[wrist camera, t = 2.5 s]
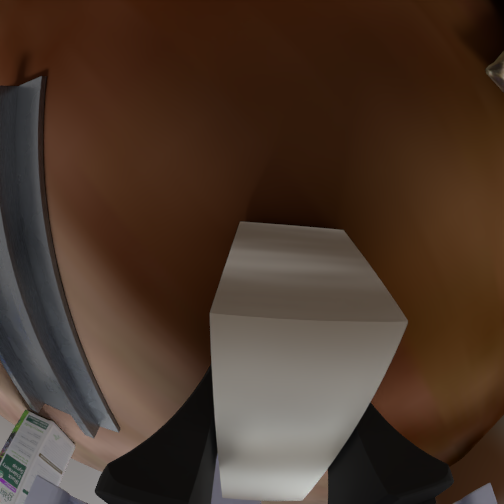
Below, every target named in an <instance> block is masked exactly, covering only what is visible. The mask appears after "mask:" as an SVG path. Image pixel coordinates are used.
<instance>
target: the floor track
mask: <svg viewBox="0 0 504 504" xmlns="http://www.w3.org/2000/svg"><path fill="white" fill-rule="evenodd" d="M46 79H47V77H45V76H41V77H38V78H36V79H34V80H31V81H29V82H27V83H24V84H22V85H20V86H0V360H1V362H2V364H3V366H4V368H5V369H6V371H7V373H8V374H9V376H10V378H11V379H12V381H13V383H14V384H15V386H16V387H17V389H18V390H19V392H20V393H21V395H22V396H23V398H24V399H25V401H26V402H27V404H28V405H29V406H30V408H31V409H32V410H33V411H35V412H37V413H39V411H40V410H41V408H42V407H43V405H44V403H45V404H47V405H50V406H52V407H54V408H56V409H58V410H60V411H63V412H65V413H67V414H70V415H71V416H72V417H73V419H74V420H75V422H76V423H77V424H78V426H79V427H80V429H81V430H82V431H83V433H84V434H85V435H87V436H89V437H92V438H94V437H95V435H96V433H97V431H98V429H99V427H100V426H101V427H104V428H107V429H110V430H113V431H116V432H119V431H120V428H119V426H118V424H117V422H116V421H115V419H114V417H113V415H112V413H111V411H110V409H109V407H108V405H107V403H106V401H105V399H104V397H103V395H102V393H101V391H100V389H99V387H98V385H97V383H96V380H95V378H94V376H93V374H92V371H91V369H90V367H89V364H88V362H87V359H86V357H85V354H84V352H83V349H82V346H81V344H80V341H79V338H78V335H77V333H76V330H75V327H74V324H73V321H72V318H71V315H70V311H69V308H68V305H67V301H66V298H65V294H64V291H63V287H62V283H61V279H60V275H59V271H58V267H57V262H56V257H55V253H54V247H53V242H52V237H51V231H50V224H49V217H48V210H47V201H46V192H45V180H44V162H43V117H44V100H45V89H46Z"/></svg>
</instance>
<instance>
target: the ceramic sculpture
mask: <svg viewBox="0 0 504 504" xmlns="http://www.w3.org/2000/svg"><path fill="white" fill-rule="evenodd" d="M485 71H486V74H487V75H488V76H489V77H490V78H491V79H492V80H493V81H494V83H495V84H496V85H497V86H498V87H499V88H500V89H501V90H502V91H503V92H504V51H503V52H502V53H501V54H500V56H499V57H498V58H497V59H496V60H495V62H494V63H492V64H491V65H489V66H488V67H487V68H486V69H485Z"/></svg>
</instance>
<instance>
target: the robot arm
mask: <svg viewBox="0 0 504 504" xmlns="http://www.w3.org/2000/svg"><path fill="white" fill-rule="evenodd" d="M453 482H454V480H453V477H452V474H451V471H450V468H449V466H448V464H446V463H444V462H442V461H440V460H438V459H436V458H434V457H432V456H431V455H429V454H427V453H426V452H424V451H423V450H421V449H419V448H418V447H417V446H415V445H414V444H413V443H411V442H410V441H409V440H407V439H406V438H405V437H404V436H402V435H401V434H400V433H399V432H398V431H397V430H395V429H394V428H393V427H392V426H391V425H390V424H389V423H388V422H387V421H386V420H385V419H384V418H383V417H382V415H381V414H380V413H379V412H378V411H377V410H376V409H375V407H374V406H373V405H372V404H371V402H370V404H369V405H368V407H367V409H366V411H365V412H364V414H363V416H362V417H361V419H360V421H359V422H358V424H357V426H356V427H355V429H354V431H353V432H352V434H351V435H350V437H349V438H348V440H347V441H346V443H345V445H344V446H343V447H342V449H341V450H340V452H339V453H338V455H337V456H336V458H335V459H334V460H333V462H332V463H331V465H330V466H329V467H328V504H435V503H436V500H435V497H436V496H437V495H439V494H440V493H442V492H443V491H444V490H446V489H447V488H449V487H450V486H451V485H452V484H453ZM95 493H96V495H97V496H99V497H100V498H101V499H102V500H104V501H105V502H106V503H108V504H261V501H258V500H241V499H230V498H222V490H221V481H220V471H219V461H218V450H217V439H216V427H215V413H214V398H213V382H212V363H211V365H210V367H209V369H208V371H207V372H206V374H205V375H204V377H203V379H202V380H201V382H200V383H199V385H198V386H197V387H196V389H195V390H194V392H193V393H192V394H191V396H190V397H189V398H188V399H187V401H186V402H185V403H184V404H183V406H182V407H181V408H180V409H179V410H178V411H177V412H176V414H175V415H174V416H173V417H172V418H171V419H170V420H169V421H168V422H167V423H166V424H165V425H163V426H162V427H161V428H160V429H159V430H158V431H157V432H156V433H154V434H153V435H152V436H151V437H149V438H148V439H147V440H145V441H144V442H143V443H141V444H140V445H138V446H137V447H136V448H134V449H133V450H131V451H130V452H128V453H126V454H125V455H123V456H121V457H119V458H118V459H116V460H114V461H112V462H110V463H109V464H107V466H106V467H105V469H104V471H103V472H102V474H101V476H100V478H99V481H98V484H97V486H96V489H95ZM24 504H88V503H85V502H83V501H81V500H79V499H77V498H75V497H73V496H71V495H70V494H69V493H67V492H66V491H64V490H63V489H61V488H60V487H58V486H56V485H55V484H53V483H51V482H49V481H48V480H46V479H44V478H43V477H41V476H39V475H36V478H35V480H34V482H33V484H32V486H31V488H30V490H29V493H28V495H27V497H26V499H25V502H24ZM453 504H497V501H496V498H495V495H494V492H493V489H492V486H491V483H488V484H486V485H484V486H482V487H481V488H479V489H477V490H475V491H473V492H472V493H470V494H469V495H467V496H465V497H464V498H462V499H461V500H460V501H458V502H455V503H453Z"/></svg>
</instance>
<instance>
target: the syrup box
mask: <svg viewBox="0 0 504 504" xmlns="http://www.w3.org/2000/svg"><path fill="white" fill-rule="evenodd" d="M74 449H75V445H74V444H73V442H72V441H71V440H70V439H69V438H68V437H67V436H66V435H65V433H64V432H63V431H62V430H61V429H60V428H59V427H58V426H57V425H56V424H55V423H54V422H53V421H51V420H47V419H45V418H43V417H40V416H38V415H36V414H34V413H32V412H30V411H28V410H25V411H24V413H23V414H22V416H21V418H20V419H19V421H18V423H17V424H16V426H15V428H14V429H13V431H12V433H11V435H10V437H9V439H8V440H7V442H6V444H5V445H4V447H3V449H2V451H1V453H0V502H1V503H2V504H24V502H25V499H26V497H27V495H28V493H29V490H30V488H31V486H32V484H33V482H34V480H35V478H36V475H39V476H41V477H43V478H44V479H46V480H48V481H49V482H51V483H53V484H55V485H56V486H59V484H60V481H61V479H62V477H63V474H64V472H65V469H66V467H67V465H68V462H69V460H70V458H71V456H72V454H73V451H74Z"/></svg>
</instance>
